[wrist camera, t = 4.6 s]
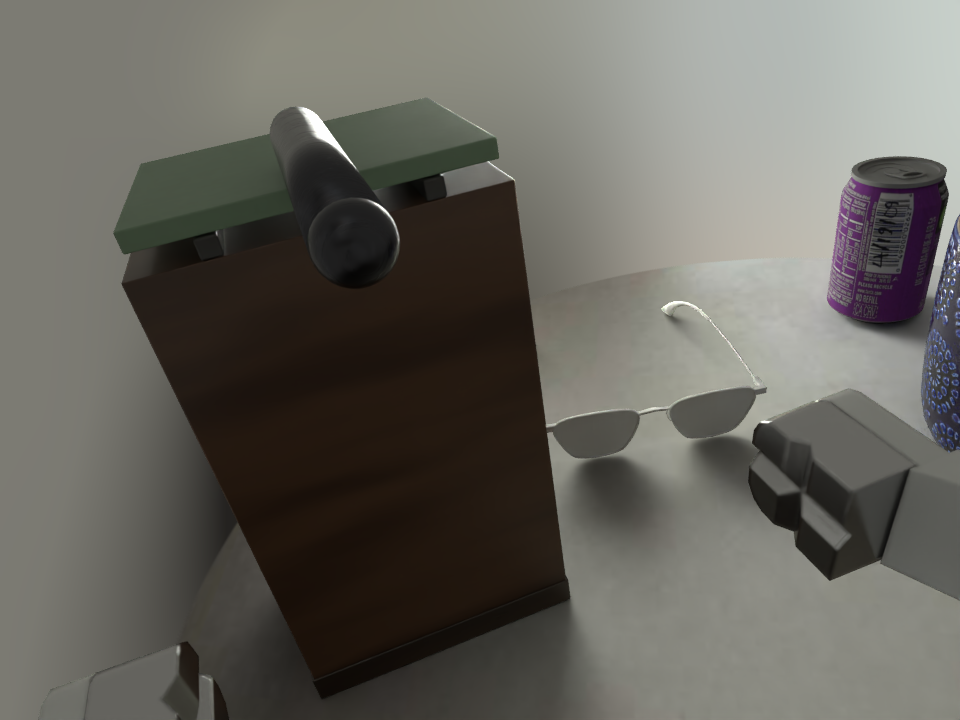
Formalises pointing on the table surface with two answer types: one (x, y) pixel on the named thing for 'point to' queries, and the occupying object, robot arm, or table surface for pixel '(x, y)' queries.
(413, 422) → the cabinet
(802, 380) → the table surface
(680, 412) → the eyeglasses
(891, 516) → the robot arm
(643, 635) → the table surface
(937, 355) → the planter
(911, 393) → the table surface
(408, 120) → the door
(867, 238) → the beverage can
